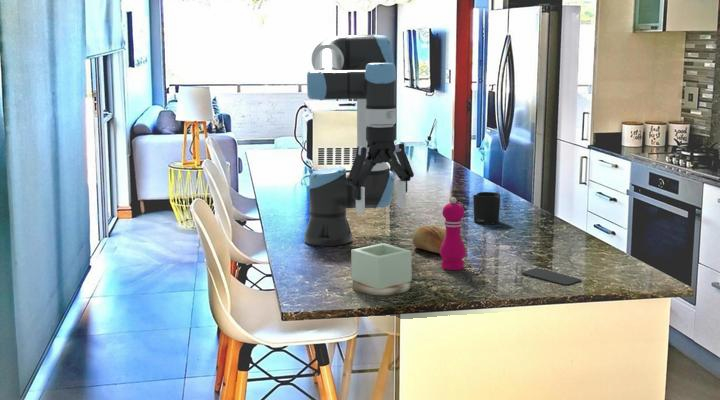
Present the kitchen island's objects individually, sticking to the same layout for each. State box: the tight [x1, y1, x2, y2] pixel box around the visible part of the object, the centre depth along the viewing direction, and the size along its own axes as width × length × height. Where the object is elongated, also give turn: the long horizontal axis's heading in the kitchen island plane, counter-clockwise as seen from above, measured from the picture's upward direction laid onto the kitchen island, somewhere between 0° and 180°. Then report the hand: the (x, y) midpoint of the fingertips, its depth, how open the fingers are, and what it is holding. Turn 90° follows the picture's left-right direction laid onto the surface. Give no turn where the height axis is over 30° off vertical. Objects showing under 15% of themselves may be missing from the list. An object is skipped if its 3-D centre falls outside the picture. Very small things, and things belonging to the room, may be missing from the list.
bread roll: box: [412, 224, 446, 255], centre depth 239 cm, size 10×15×8 cm, turn 36°
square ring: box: [350, 242, 413, 289], centre depth 204 cm, size 11×11×8 cm
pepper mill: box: [439, 197, 466, 271], centre depth 220 cm, size 7×7×20 cm
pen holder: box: [472, 191, 501, 225], centre depth 278 cm, size 9×9×10 cm
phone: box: [521, 267, 582, 287], centre depth 211 cm, size 7×1×15 cm
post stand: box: [352, 280, 411, 296], centre depth 204 cm, size 15×15×8 cm
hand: (381, 209), depth 201 cm, fingers open, 13 cm apart
